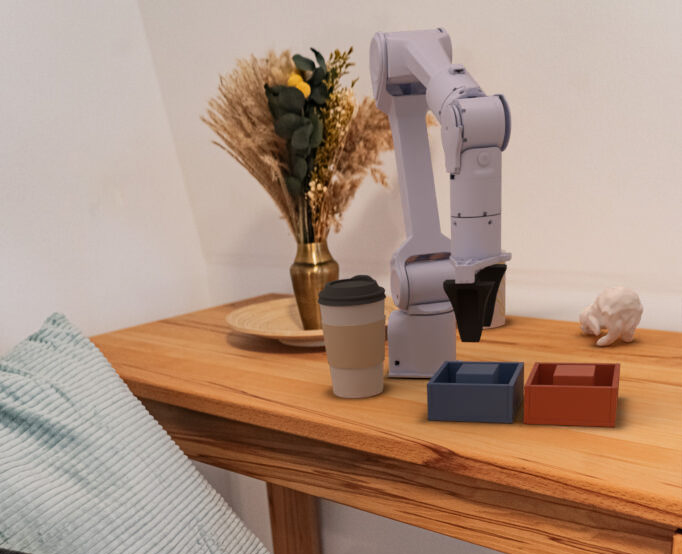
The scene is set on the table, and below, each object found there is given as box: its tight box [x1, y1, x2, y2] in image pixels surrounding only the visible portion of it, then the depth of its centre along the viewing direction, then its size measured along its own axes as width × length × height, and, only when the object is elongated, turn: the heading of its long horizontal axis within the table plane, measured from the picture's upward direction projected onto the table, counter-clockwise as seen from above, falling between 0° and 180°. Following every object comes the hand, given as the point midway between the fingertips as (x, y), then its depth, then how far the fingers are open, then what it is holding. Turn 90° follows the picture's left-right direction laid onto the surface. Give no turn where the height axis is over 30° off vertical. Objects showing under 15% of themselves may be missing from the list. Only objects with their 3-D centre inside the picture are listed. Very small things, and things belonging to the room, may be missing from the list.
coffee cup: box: [317, 274, 387, 399], centre depth 112 cm, size 9×9×15 cm
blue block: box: [456, 364, 499, 384], centre depth 104 cm, size 4×4×4 cm
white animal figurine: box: [578, 285, 644, 347], centre depth 129 cm, size 6×8×12 cm
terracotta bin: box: [523, 361, 621, 428], centre depth 100 cm, size 10×10×5 cm
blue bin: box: [426, 360, 525, 424], centre depth 104 cm, size 10×10×5 cm
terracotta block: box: [553, 365, 596, 386], centre depth 100 cm, size 4×4×4 cm
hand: (476, 333), depth 101 cm, fingers open, 7 cm apart
